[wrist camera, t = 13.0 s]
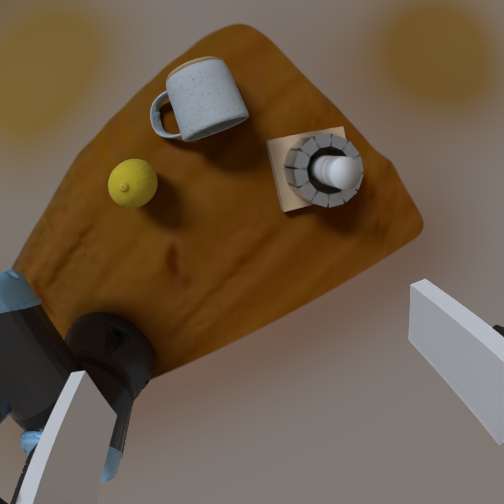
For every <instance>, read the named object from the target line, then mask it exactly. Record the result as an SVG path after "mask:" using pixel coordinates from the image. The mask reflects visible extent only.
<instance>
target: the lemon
mask: <svg viewBox="0 0 504 504" xmlns="http://www.w3.org/2000/svg"><path fill="white" fill-rule="evenodd" d="M157 186H158V178H157V174H156V172H155V170H154V168H153V167H152V166H151V165H150V164H149V163H147V162H146V161H143V160H140V159H130V160H126V161H124V162H122V163H120V164H119V165H118V166H117V167H116V168H115V169H114V170H113V171H112V173H111V175H110V178H109V182H108V188H109V193H110V195H111V197H112V199H113V200H114V201H115V202H116V203H117V204H118V205H121V206H123V207H126V208H137V207H140V206H143V205H144V204H146V203H147V202H149V201H150V200H151V198H152V197H153V196H154V194H155V192H156V190H157Z"/></svg>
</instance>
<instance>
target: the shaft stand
mask: <svg viewBox="0 0 504 504" xmlns="http://www.w3.org/2000/svg"><path fill="white" fill-rule="evenodd" d="M328 133H330V134H335V135H338V136H340V137H343V138H345V139H346V137H345V132H344V128H343V127H337V128H331V129H325V130H319V131H313V132H308V133H302V134H297V135H292V136H287V137H282V138H277V139H273V140H268V141H265V142H266V146H267V150H268V154H269V159H270V163H271V167H272V171H273V175H274V179H275V184H276V188H277V192H278V197H279V201H280V205H281V210H282V211H283V212H286V211H290V210H294V209H298V208H302V207H306V206H310V205H314V203H311V202H309V201H307V200H305V199H303V198H302V197H300V196H298V195H297V194H296V193H295V192H294V191H293V190H292V189H291V188H290V186H289V185H288V184H289V183H287V182H286V178H285V174H284V169H283V168H285V167H288V166H285V165H283V164H284V161H285V158H286V154H287V151H290V150H289V148H290V147H291V146H292V145H294V144H295V143H296V142H297V141H298V140H299V139H302V138H305V137H310V136H315V135H322V134H328ZM307 173H308V178H309V182H310V183H311V184H312V185H313V187H314V188H315V189H318V188H323V187H325V186H326V185H329V186H332V187H336V188H339V189H342V190H350V189H353V188H354V187H356V186H357V184H358V183H359V181H360V179H361V169H360V165H359V164H358V163H357V161H356V160H354V159H353V158H351V157H344V156H331V155H330V154H329V153H328V152H327V151H326V150H324V149H321V148H319V149H318V150H317V151H316V152H315V153H314V154H313V155H312V156H311V157H310V159H309V163H308V166H307ZM354 189H355V188H354Z"/></svg>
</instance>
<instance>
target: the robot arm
mask: <svg viewBox="0 0 504 504" xmlns="http://www.w3.org/2000/svg"><path fill="white" fill-rule="evenodd" d="M410 286H411V287H410V320H409V338H408V340H409V341H410V342H411V343H412V344H413V345H414V346H415V348H416V349H417V350H418V351H419V352H420V353H421V354H422V355H423V356H424V357H425V359H426V360H427V361H428V362H429V363H430V364H431V365H432V366H433V367H434V368H435V370H436V371H437V372H438V373H439V374H440V375H441V376H442V378H443V379H444V380H445V381H446V382H447V383H448V384H449V385H450V386H451V388H452V389H453V390H454V391H455V392H456V394H457V395H458V396H459V397H460V398H461V399H462V401H463V402H464V403H465V404H466V405H467V406H468V408H469V409H470V410H471V411H472V412H473V414H474V415H475V416H476V417H477V418H478V420H479V421H480V422H481V423H482V425H483V426H484V427H485V428H486V429H487V431H488V432H489V433H490V434H491V436H492V437H493V438H494V439H495V441H496V442H497V443H498V444H499V445H500V444H502V443H503V442H504V327H501V326H499V325H495V326H494V327H490V326H489V325H487V324H486V323H485V322H484V321H483V320H481V319H480V318H479V317H477V316H476V315H475V314H473V313H472V312H471V311H469V310H468V309H467V308H465V307H464V306H463V305H461V304H460V303H458V302H457V301H456V300H454V299H453V298H452V297H450V296H449V295H448V294H446V293H445V292H443V291H442V290H441V289H439V288H438V287H436V286H435V285H433V284H432V283H430V282H429V281H428V280H426V279H424V280H421V281H419V282H416V283H414V284H411V285H410ZM41 303H42V302H41V300H40V299H39V298H37V296H36V295H35V293H34V291H33V290H32V288H31V286H30V285H29V283H28V281H27V280H26V278H25V276H24V275H23V274H22V273H21V272H19V271H17V270H14V269H9V270H6V271H4V272H1V273H0V423H1V422H2V421H3V420H4V419H5V418H6V417H7V416H8V415H10V416H11V417H12V418H13V419H14V420H15V422H16V423H17V424H18V425H20V427H21V428H22V429H23V430H24V433H22V434H21V442H20V444H21V447H22V448H23V450H24V452H25V453H26V454H27V455H28V458H27V460H26V465H24V468H23V470H22V471H23V473H21V476H20V478H19V481H18V484H17V487H16V489H15V492H14V495H13V498H12V501H11V503H10V504H96V503H97V498H98V493H99V488H100V483H105V482H108V481H110V480H112V479H113V478H114V477H115V475H116V474H117V471H118V467H119V463H120V460H121V459H122V458H123V450H124V445H125V439H126V434H127V429H128V424H129V419H130V415H131V410H132V406H133V401H134V400H135V399H136V397H137V396H138V395H139V394H140V392H141V390H142V389H144V388H145V387H146V385H147V384H148V383H149V381H150V379H151V377H152V373H153V369H154V362H155V361H154V353H153V350H152V347H151V345H150V343H149V342H148V340H147V339H146V337H145V336H144V335H143V334H142V333H141V332H140V331H139V330H138V329H137V328H136V327H135V326H133V325H132V324H131V323H129V322H128V321H126V320H124V319H122V318H120V317H118V316H115V315H112V314H108V313H100V312H96V313H88V314H85V315H83V316H81V317H79V318H78V319H77V320H76V321H75V322H74V323H73V324H72V326H71V327H70V329H69V330H68V332H67V334H66V336H65V340H63V338H62V337H61V335H60V334H59V332H58V331H57V329H56V328H55V326H54V325H53V323H52V321H51V320H50V318H49V316H48V315H47V313H46V312H45V310H44V308H43V306H42V305H41ZM0 504H8V503H6V502H5V501H4V500H3V499H1V498H0Z"/></svg>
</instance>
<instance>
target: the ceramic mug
mask: <svg viewBox="0 0 504 504" xmlns="http://www.w3.org/2000/svg"><path fill="white" fill-rule="evenodd" d="M166 87H167V91H165V92H164V93H162V94H161V95H159V96H158V97H157V98H156V99H155V101H154V102H153V104H152V107H151V111H150V120H151V124H152V127H153V129H154V131H155V132H156V133H157V134H158V135H160V136H162V137H165V138H179V137H182V139H183V140H184V141H185V142H189V141H194V140H198V139H201V138H204V137H207V136H209V135H213V134H216V133H218V132H221V131H223V130H226V129H228V128H231V127H233V126H235V125H237V124H240V123H242V122H243V121H245V120H246V119H247V118H248V117H249V114H248V111H247V109H246V107H245V105H244V102H243V100H242V97H241V95H240V93H239V90H238V88H237V86H236V84H235V82H234V80H233V77H232V75H231V73H230V70H229V69H228V67H227V66H226V64H225V63H224V62H223V60H221V59H219V58H217V57H202V58H198V59H194V60H191V61H189V62H186V63H184V64H183V65H181V66H179V67H177V68H176V69H174V70H173V71H172V72H171V73H170V75H169V76H168V78H167V80H166ZM167 97H169V99H170V102H171V105H172V107H173V110H174V114H175V117H176V120H177V123H178V126H179V130H180V134H176V135H172V134H168V133H167V132H165V130H164V129H163V127H162V123H161V119H160V112H159V108H160V106H161V104H162V102H163V101H164V100H165V99H166V98H167Z"/></svg>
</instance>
